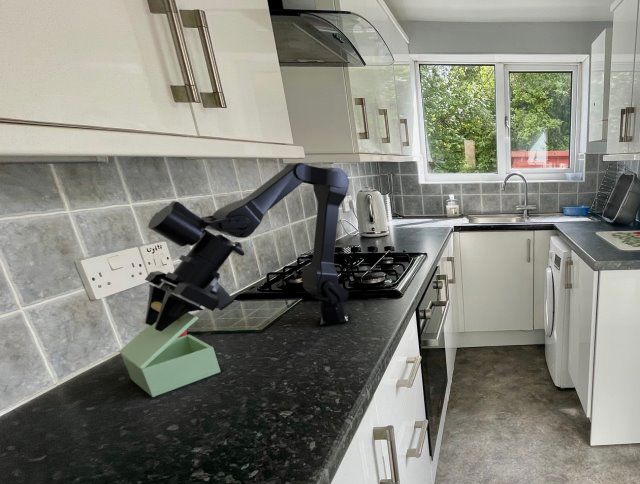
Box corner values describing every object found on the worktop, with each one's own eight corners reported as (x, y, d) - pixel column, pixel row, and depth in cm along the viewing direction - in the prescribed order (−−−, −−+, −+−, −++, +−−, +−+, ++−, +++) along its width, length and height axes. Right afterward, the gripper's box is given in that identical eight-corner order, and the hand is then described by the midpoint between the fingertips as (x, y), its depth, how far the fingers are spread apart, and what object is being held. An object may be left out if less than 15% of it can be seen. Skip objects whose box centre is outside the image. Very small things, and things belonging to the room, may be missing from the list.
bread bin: (197, 357, 90) (189, 334, 88) (220, 372, 84) (213, 347, 82) (131, 379, 81) (121, 354, 79) (152, 397, 75) (141, 370, 73)
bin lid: (175, 306, 85) (154, 292, 82) (198, 318, 79) (177, 303, 76) (122, 353, 79) (98, 339, 76) (143, 369, 73) (118, 355, 70)
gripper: (262, 289, 84) (215, 356, 79) (221, 275, 94) (177, 334, 89) (209, 257, 75) (153, 331, 71) (170, 246, 85) (118, 310, 80)
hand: (152, 327), depth 78 cm, fingers closed on bin lid, 5 cm apart
